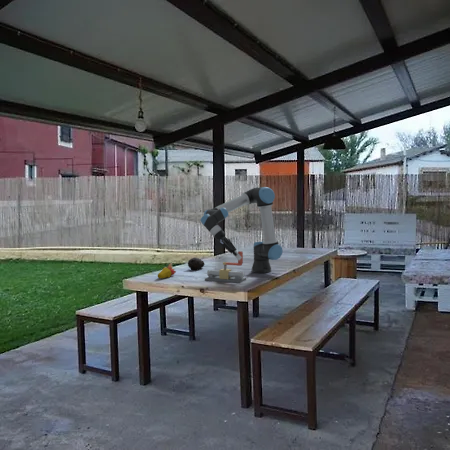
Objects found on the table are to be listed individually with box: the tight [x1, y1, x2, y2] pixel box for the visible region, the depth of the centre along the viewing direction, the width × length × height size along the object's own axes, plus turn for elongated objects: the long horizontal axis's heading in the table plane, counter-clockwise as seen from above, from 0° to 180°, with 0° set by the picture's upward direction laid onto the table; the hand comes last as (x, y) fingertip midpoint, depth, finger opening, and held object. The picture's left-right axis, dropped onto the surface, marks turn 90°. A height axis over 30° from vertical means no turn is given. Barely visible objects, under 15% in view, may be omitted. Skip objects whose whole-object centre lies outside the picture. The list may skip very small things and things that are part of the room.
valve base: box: [204, 265, 247, 284], centre depth 336 cm, size 12×26×11 cm, turn 66°
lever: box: [222, 250, 244, 266], centre depth 333 cm, size 15×3×9 cm, turn 59°
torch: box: [157, 262, 177, 279], centre depth 353 cm, size 8×8×25 cm
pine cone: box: [187, 257, 205, 272], centre depth 390 cm, size 10×18×10 cm, turn 162°
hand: (240, 259), depth 326 cm, fingers closed
